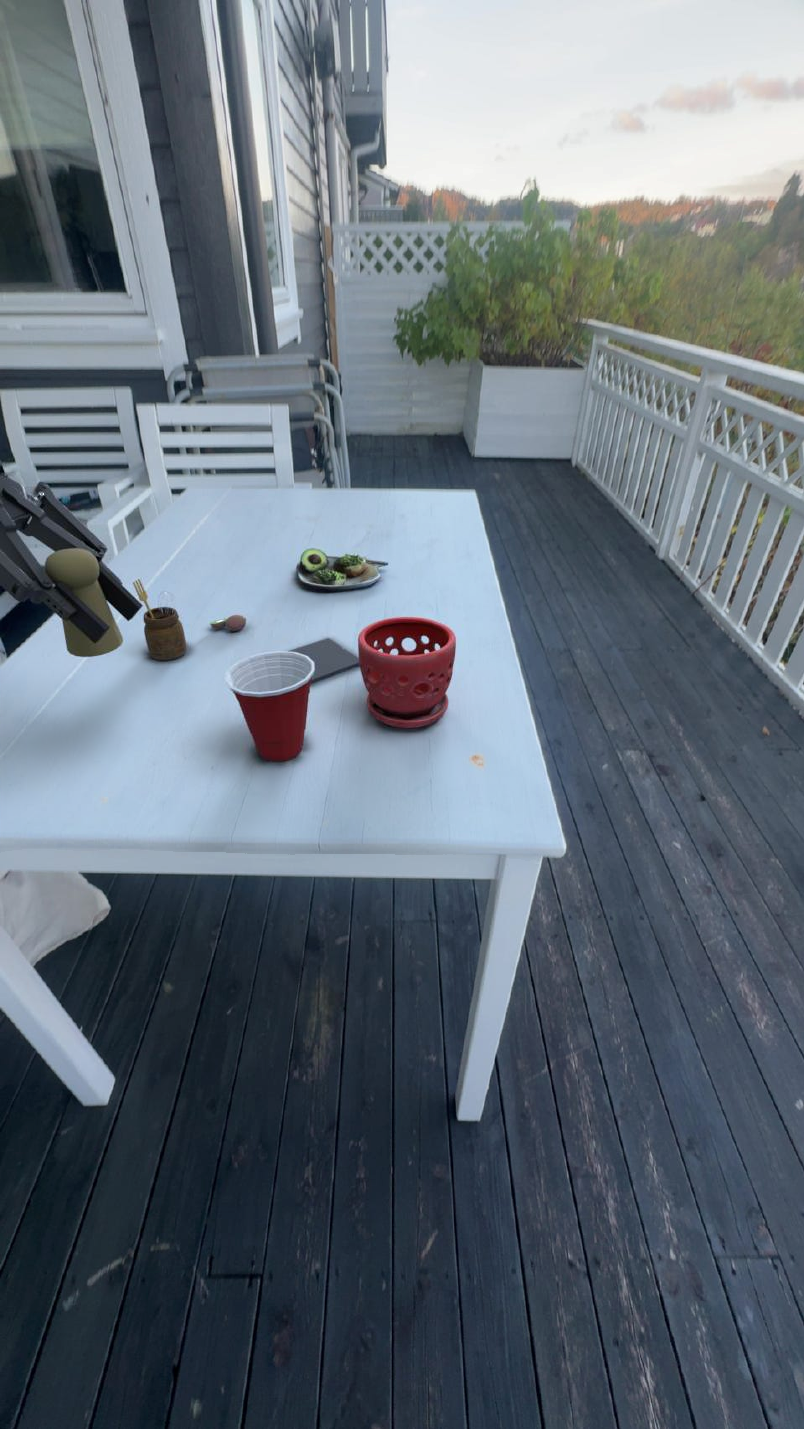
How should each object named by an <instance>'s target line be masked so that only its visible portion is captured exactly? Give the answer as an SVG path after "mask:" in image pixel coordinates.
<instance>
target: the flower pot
mask: <svg viewBox="0 0 804 1429" xmlns="http://www.w3.org/2000/svg"><path fill="white" fill-rule="evenodd" d="M423 637H426V638H427V639H428V642H427V643H425V642H424V641H423V640H422V638H423ZM389 638H391V639H392V643H390V644H387V640H388V639H389ZM405 639H411V640H413V641H414V642H415V647H414V649H412V650H407V649H405V648H404V647H403V641H404V640H405ZM375 643H376V644H375ZM436 645H438V646H439V648H438V649H436ZM456 648H457V638H456V635H455V632H454V631H453V630H452V628H450V627H449V626H447V625H445V624H443V623H442V622H439V621H436V620H432V619H429V618H425V617H419V616H418V617H416V616H398V617H397V616H396V617H389V618H385V619H380V620H378V621H375V622H373V623H370V624H369V625H367V626H366V627H364V628H363V629H362V630H361V631H360V633H358V637H357V652H358V653H357V654H358V658H359V664H360V665H359V670H360V673H361V677H362V681H363V684H364V687H365V689H366V692H367V696H366V701H365V702H366V703H365V704H366V708H367V711H369V713H370V714H371V715H372V717H374V718H375V719H376V720H377V721H380V722H381V723H383V724H385V725H388V726H391V727H396V728H404V729H413V728H420V727H421V728H422V727H424V726H428V725H431V724H432V723H434V722H436V721H437V720H439V719H440V718H441V717H442V716H443V715H444V714H445V713H446V712H447V710H448V707H449V697H448V695H447V691H448V689H449V687H450V685H451V681H452V677H453V673H454V672H453V669H454V666H455V665H454V664H455V659H456V652H457V651H456ZM379 650H382V651H379ZM392 650H397V654H391V652H392ZM425 650H426V651H428V652H426V653H425Z"/></svg>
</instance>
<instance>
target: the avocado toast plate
mask: <svg viewBox="0 0 804 1429" xmlns="http://www.w3.org/2000/svg"><path fill="white" fill-rule="evenodd" d="M388 565H389V562H388V561H381V560H373V559H369V558H367V556H361V555H359V554H357V555H356V554H350V553H345V554H344V555H339V556H336V555H335V556H334V555H327V554H326V553H325V552H324V551H323V550H321V549H318V548H307V549H306V550H304V551H303V552H302V554H301V555H300V560H299V561H298V562H297V563H296V566H295V569H296V575H297V578H298V582H299V583H300V585H301V587H303V588H305V589H307V590H308V591H312V592H319V593H328V592H329V593H330V592H343V591H349V590H357V589H360V588H366V587H370V586H371V585H373V584H374V583H376V582H377V581H379V580H380V579H381V574H380V573H379V570H378V569H379V568H382V567H387V566H388Z"/></svg>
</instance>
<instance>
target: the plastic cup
mask: <svg viewBox="0 0 804 1429" xmlns="http://www.w3.org/2000/svg"><path fill="white" fill-rule="evenodd" d="M314 671H315V668H314V662H313V661H312V660H311V659H310V658H309V657H308V656H306V655H303V654H300V653H297V652H288V651H287V650H286V651H285V650H277V651H268V652H267V651H266V652H261V653H258V654H254V655H250V656H247V657H245V658H243V659H241V660H240V661H237V662H235V663H233V664H232V666H231V667H229V668H228V669H227V670H226V671H225V675H224V679H223V681H224V683H225V684H226V686H227V687H228V688H229V690H230V691H231V692H232V693H233V695H234V697H235V699H236V700H237V702H238V704H239V707H240V710H241V712H242V715H243V718H244V721H245V723H246V726H247V729H248V731H249V734H250V735H251V737H252V741H253V743H254V746H255V749H256V750H257V753H258V754H259V756H260V758H263V759H265V760H266V761H270V762H275V763H277V762H286V761H289V760H292V759H294V758H296V757H297V756H298V755H300V753H301V751H302V750H303V746H304V741H305V730H306V727H307V719H308V707H309V699H310V698H309V696H310V694H311V693H310V692H311V685H312V683H311V679H312V676H313V675H314Z"/></svg>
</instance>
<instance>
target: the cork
mask: <svg viewBox="0 0 804 1429" xmlns="http://www.w3.org/2000/svg"><path fill="white" fill-rule="evenodd" d="M44 571H45V572H46V573H47V575H48V576H49V578H50V579H51V580H52V582H53V586H55V585H56V584H57V583H59V582H61V581H62V582H63V583H64V584H65V585H66V586H67V587H68V588H69V589H70V590H71V591H72V592H73V593H74V594H75V595H76V596H77V597H79V598H80V599H81V600H82V601H83V602H84V603H85V604H86V605H87V606H88V607H89V608H90V609H91V610H92V611H93V612H94V613H95V614H97V615H98V616H99V617H100V618H101V619H102V620H103V621H104V622H105V623H106V624H107V625H108V626H109V627H110V628H109V629H108V630H107V632H106V633H105V634H104V635H103V637H102V638H101V639H100V640H99V641H98V642H96V643H95V644H94V643H93V642H92V641H91V640H90V639H89V638H88V637H87V636H86V635H85V634H84V633H83V632H81V631H80V630H79V629H78V628H77V627H76V626H75V625H74V624H73V623H72V622H71V621H70V620H69V619H68V620H67V621H65V620H63V619H61V621H62V629H63V634H64V639H65V645H66V646H65V647H66V651H67V652H68V653H69V654H70V655H72V656H74V657H80V658H93V657H99V656H103V655H106V654H110V653H111V652H113V651H115V650H117V649H119V648H120V647H121V646H122V644H123V642H124V637H123V635H122V633H121V631H120V628H119V626H118V624H117V621H116V619H115V617H114V615H113V612H112V610H111V607H110V605H109V602H108V601H107V600H106V598H105V596H104V594H103V592H102V589H101V587H100V585H99V582H98V580H97V578H98V576H99V564H98V561H97V559H96V557H95V556H94V555H93V554H92V553H91V552H89V551H87V550H84V549H78V548H71V549H64V550H60V551H57V552H55V551H53V552H52V553H51V554H49V555H48V556H47V557H46V558H45V562H44Z"/></svg>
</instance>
